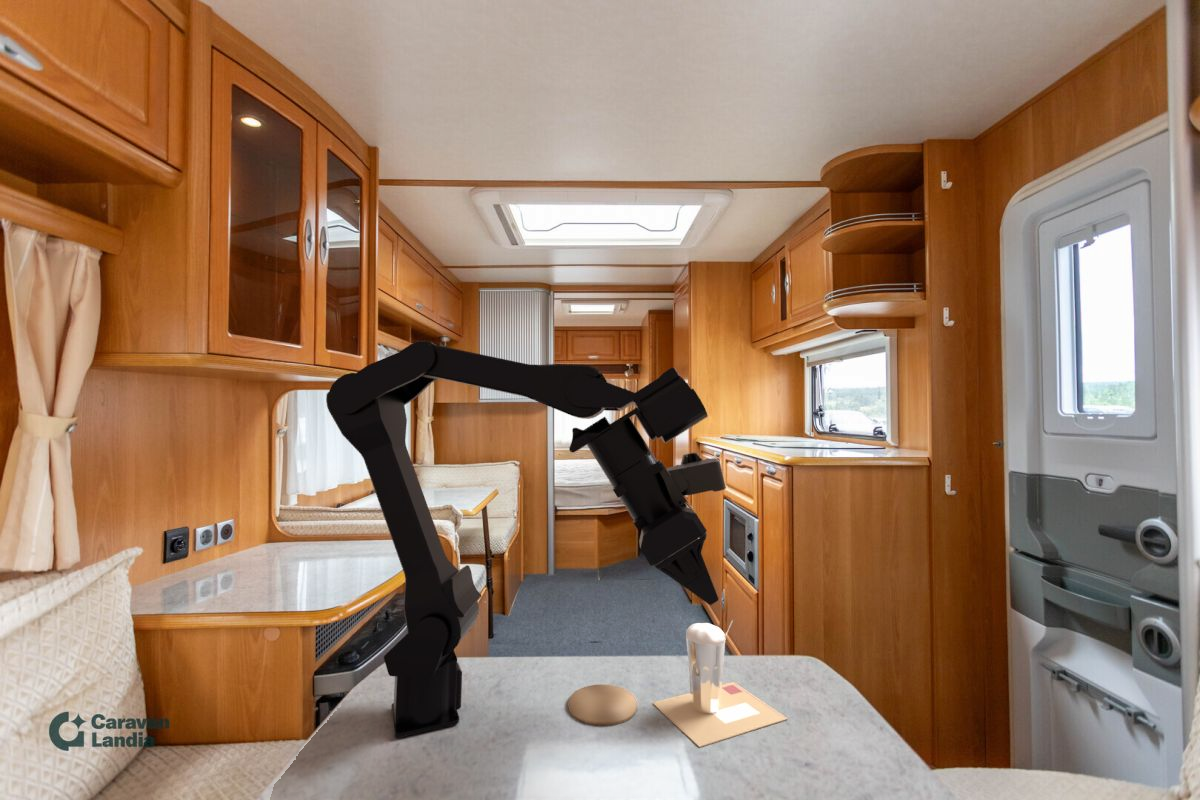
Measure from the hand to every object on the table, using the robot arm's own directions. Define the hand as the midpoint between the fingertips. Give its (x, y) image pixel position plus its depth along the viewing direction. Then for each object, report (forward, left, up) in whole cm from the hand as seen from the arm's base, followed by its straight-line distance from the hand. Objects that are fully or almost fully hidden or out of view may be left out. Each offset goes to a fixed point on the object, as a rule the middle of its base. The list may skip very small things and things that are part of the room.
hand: (706, 587), depth 55 cm
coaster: (-8, +9, -15) cm, 19 cm away
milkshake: (+3, +3, -15) cm, 15 cm away
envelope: (+3, +2, -15) cm, 15 cm away
